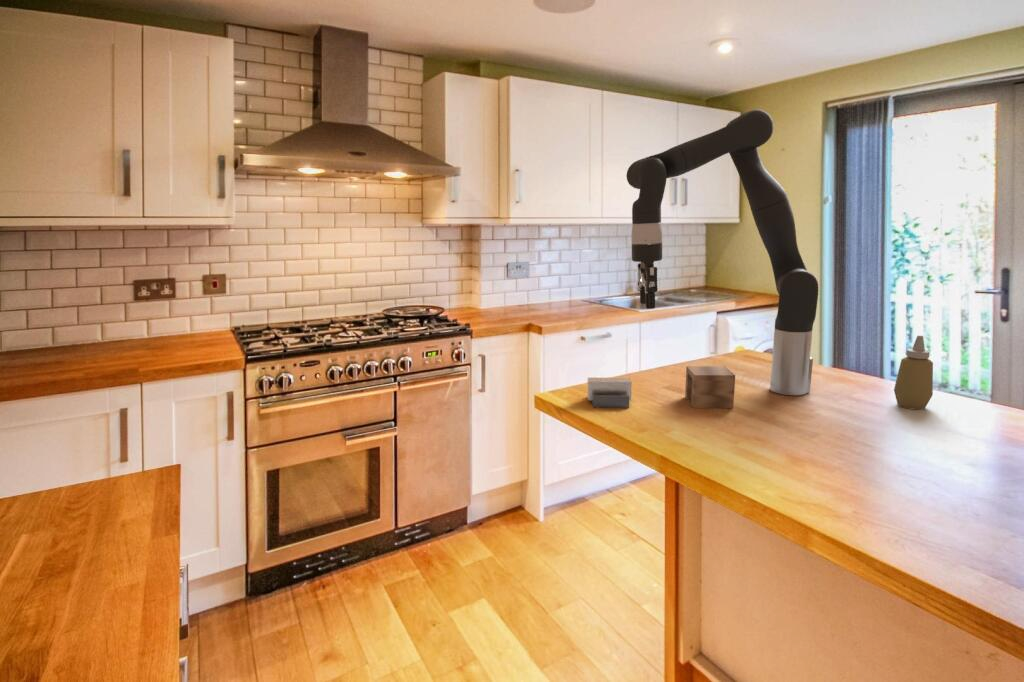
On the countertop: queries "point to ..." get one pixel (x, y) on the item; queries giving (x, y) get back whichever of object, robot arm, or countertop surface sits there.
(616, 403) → the grey channel block
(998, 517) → the countertop surface
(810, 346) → the robot arm
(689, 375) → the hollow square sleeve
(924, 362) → the squeeze bottle
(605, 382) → the shiny metal block
